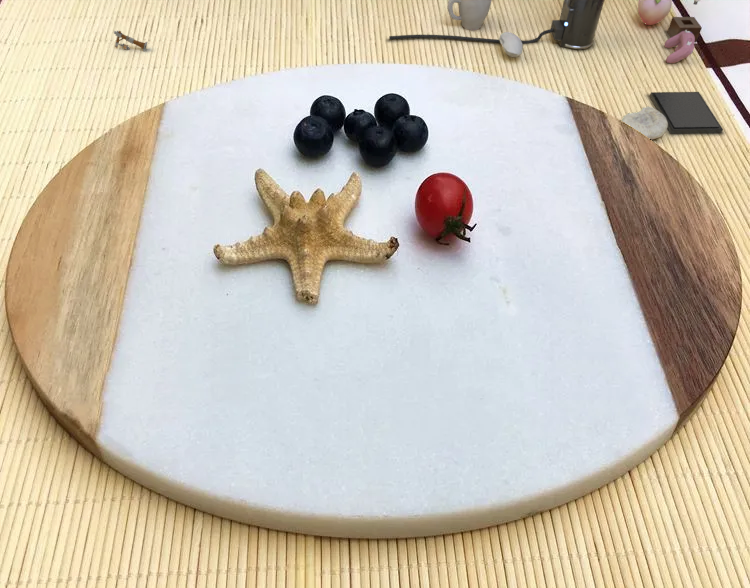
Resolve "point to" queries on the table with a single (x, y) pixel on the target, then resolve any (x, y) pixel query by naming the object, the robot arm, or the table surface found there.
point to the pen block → (684, 26)
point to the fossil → (647, 122)
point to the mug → (470, 12)
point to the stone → (511, 44)
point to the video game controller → (680, 46)
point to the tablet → (686, 112)
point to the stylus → (696, 2)
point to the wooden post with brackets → (129, 39)
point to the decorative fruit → (653, 10)
